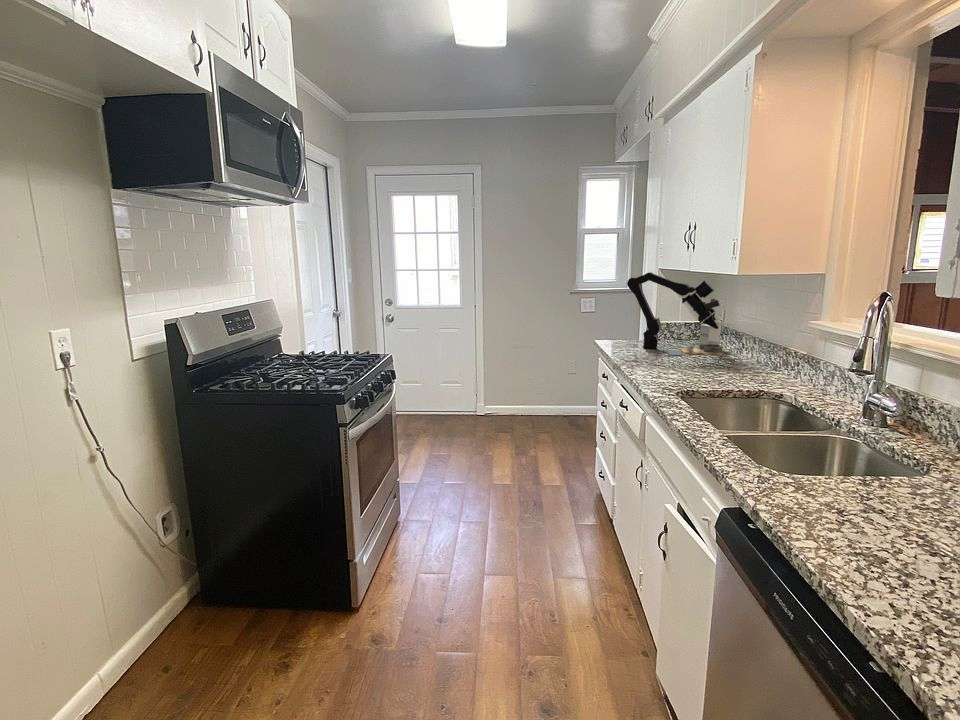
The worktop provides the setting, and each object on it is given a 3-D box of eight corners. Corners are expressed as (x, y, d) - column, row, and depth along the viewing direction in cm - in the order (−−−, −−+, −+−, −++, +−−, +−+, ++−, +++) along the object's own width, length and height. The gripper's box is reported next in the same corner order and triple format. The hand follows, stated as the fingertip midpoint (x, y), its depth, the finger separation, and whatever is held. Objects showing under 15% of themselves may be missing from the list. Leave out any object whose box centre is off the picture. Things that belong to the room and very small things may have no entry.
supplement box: (698, 347, 280) (700, 324, 277) (709, 347, 282) (711, 323, 279) (707, 350, 273) (710, 326, 270) (719, 349, 275) (721, 325, 272)
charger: (708, 340, 260) (710, 321, 258) (709, 339, 264) (711, 320, 262) (718, 341, 258) (720, 321, 256) (719, 340, 262) (721, 320, 260)
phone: (668, 356, 257) (668, 354, 257) (666, 352, 269) (666, 350, 269) (682, 357, 256) (682, 355, 256) (679, 352, 267) (679, 350, 267)
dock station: (684, 353, 262) (685, 346, 261) (679, 349, 275) (679, 341, 274) (723, 355, 259) (724, 347, 258) (716, 350, 271) (717, 343, 271)
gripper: (708, 294, 250) (730, 319, 247) (712, 292, 266) (733, 315, 263) (688, 309, 256) (710, 334, 253) (694, 306, 271) (715, 329, 268)
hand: (718, 327), depth 259 cm, fingers closed on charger, 4 cm apart
